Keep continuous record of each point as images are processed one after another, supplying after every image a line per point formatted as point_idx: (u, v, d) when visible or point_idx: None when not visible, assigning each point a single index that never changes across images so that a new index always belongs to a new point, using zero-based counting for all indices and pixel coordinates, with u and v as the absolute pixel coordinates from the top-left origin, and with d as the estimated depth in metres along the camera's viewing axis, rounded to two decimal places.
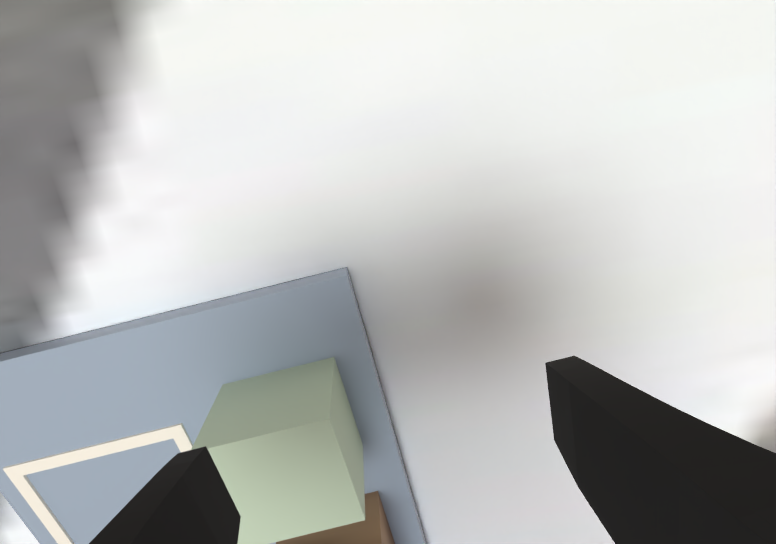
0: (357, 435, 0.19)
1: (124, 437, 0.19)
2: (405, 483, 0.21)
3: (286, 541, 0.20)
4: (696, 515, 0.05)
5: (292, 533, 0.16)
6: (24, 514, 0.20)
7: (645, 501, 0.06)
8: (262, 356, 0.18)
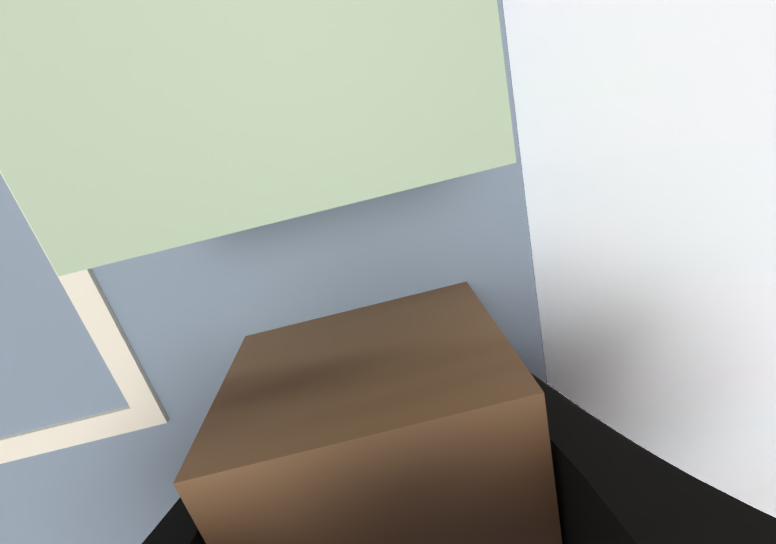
0: None
1: None
2: (530, 264, 0.09)
3: (252, 370, 0.08)
4: (609, 536, 0.05)
5: (248, 208, 0.04)
6: None
7: (575, 518, 0.06)
8: None
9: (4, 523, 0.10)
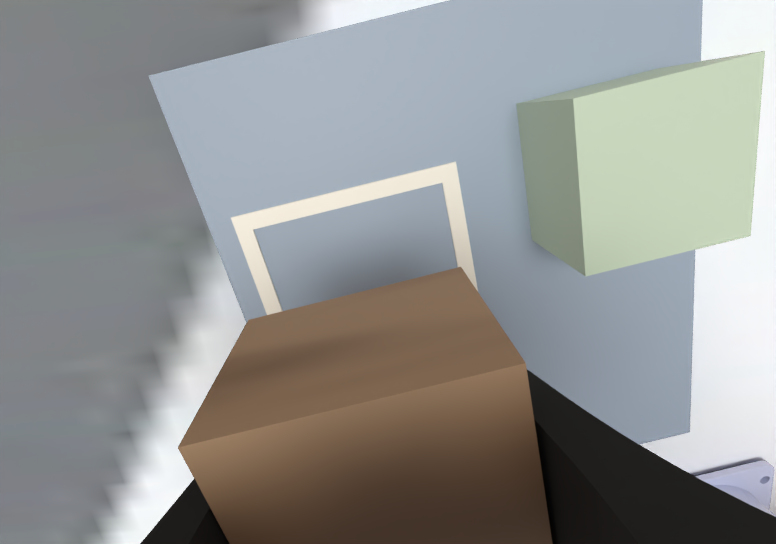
0: None
1: (383, 178, 0.15)
2: (693, 270, 0.17)
3: (254, 349, 0.08)
4: (611, 535, 0.05)
5: (656, 252, 0.12)
6: (242, 291, 0.16)
7: (576, 518, 0.06)
8: (572, 61, 0.14)
9: None
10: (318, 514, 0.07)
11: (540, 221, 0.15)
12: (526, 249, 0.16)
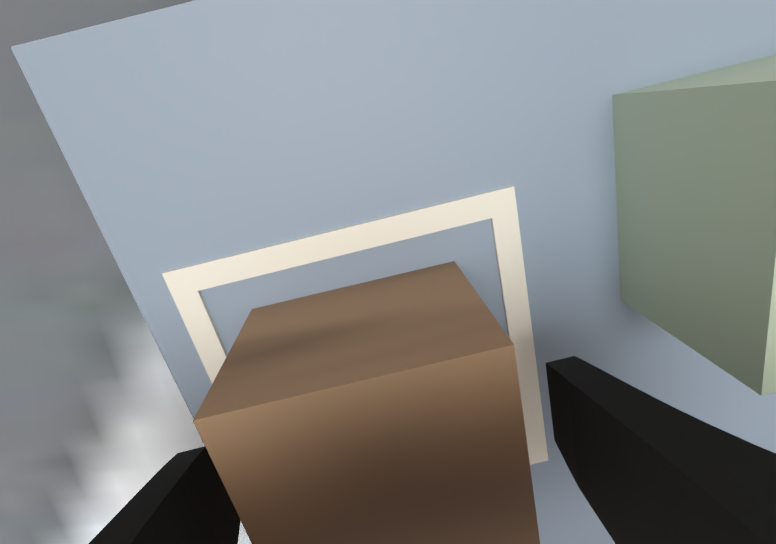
0: None
1: (401, 212, 0.10)
2: None
3: (259, 335, 0.09)
4: (696, 515, 0.05)
5: None
6: (186, 379, 0.11)
7: (645, 500, 0.06)
8: (707, 26, 0.09)
9: None
10: (321, 485, 0.07)
11: (646, 279, 0.10)
12: (612, 312, 0.11)
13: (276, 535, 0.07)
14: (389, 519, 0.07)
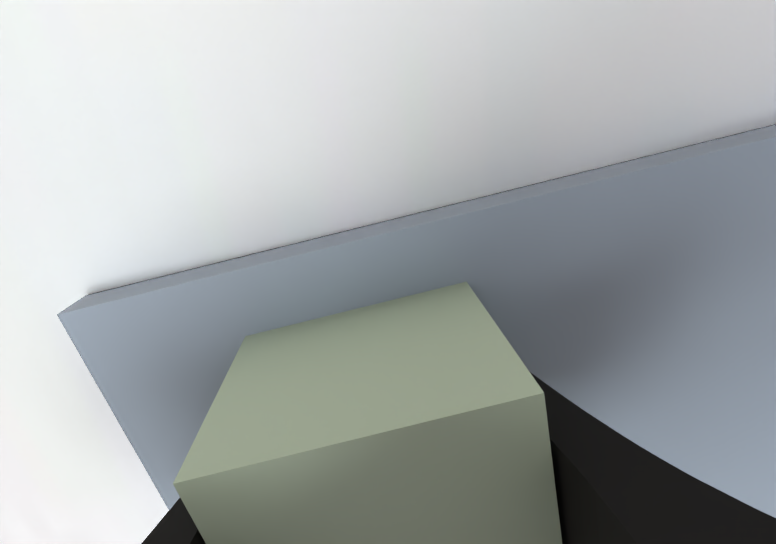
0: (422, 302, 0.09)
1: None
2: (594, 184, 0.09)
3: None
4: (610, 536, 0.05)
5: None
6: None
7: (575, 518, 0.06)
8: None
9: None
10: None
11: None
12: None
13: None
14: None
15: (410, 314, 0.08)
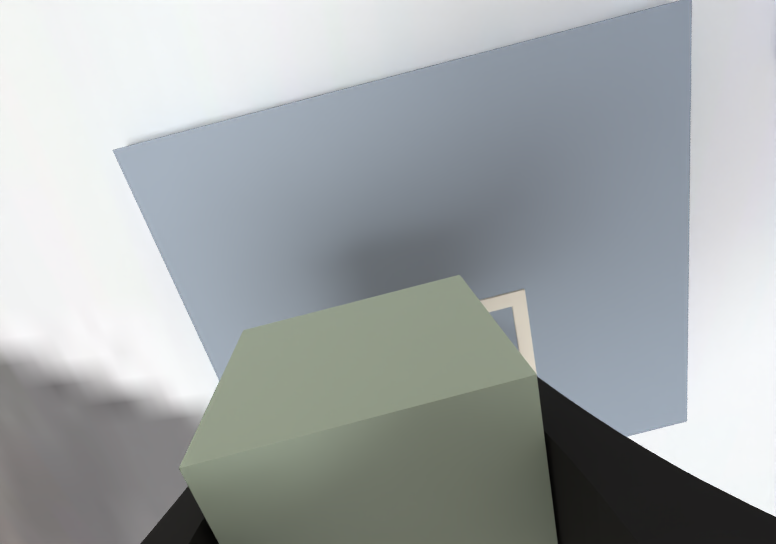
0: (417, 295, 0.09)
1: None
2: (442, 65, 0.14)
3: None
4: (611, 536, 0.05)
5: (541, 523, 0.07)
6: None
7: (575, 518, 0.06)
8: (235, 251, 0.16)
9: (576, 377, 0.19)
10: None
11: None
12: (410, 266, 0.17)
13: None
14: None
15: (406, 306, 0.09)
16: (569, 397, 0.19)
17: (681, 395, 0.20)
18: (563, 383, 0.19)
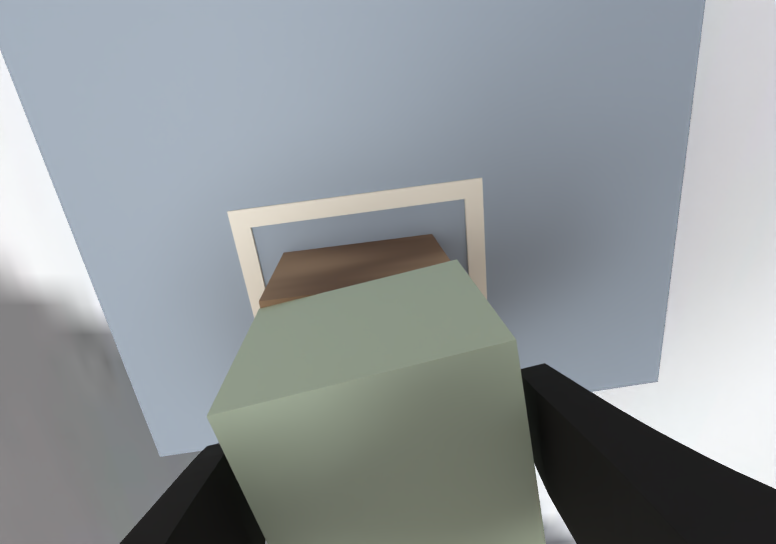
0: (417, 277, 0.10)
1: (246, 286, 0.14)
2: None
3: None
4: (645, 527, 0.05)
5: (523, 476, 0.08)
6: None
7: (604, 511, 0.06)
8: (106, 64, 0.12)
9: (533, 308, 0.16)
10: None
11: None
12: (339, 123, 0.13)
13: None
14: None
15: (406, 286, 0.10)
16: (523, 332, 0.16)
17: (654, 348, 0.17)
18: (518, 313, 0.16)
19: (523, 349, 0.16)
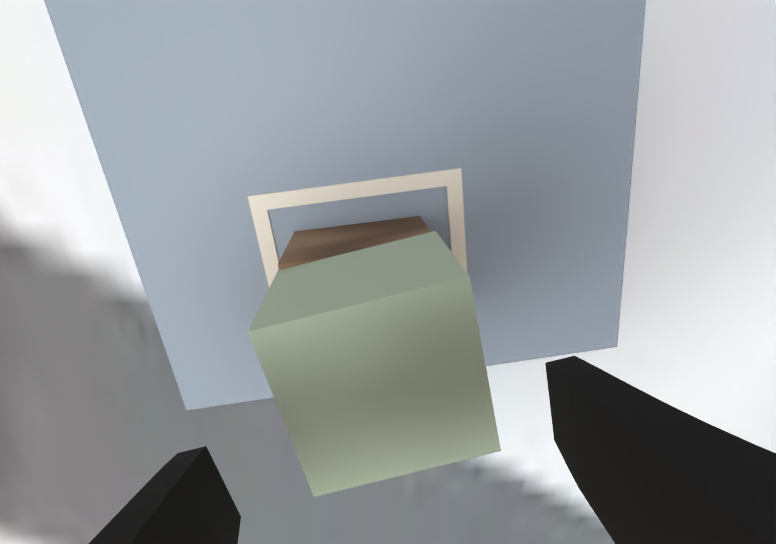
0: (403, 243, 0.12)
1: (262, 260, 0.17)
2: None
3: None
4: (696, 515, 0.05)
5: (479, 384, 0.10)
6: None
7: (645, 501, 0.06)
8: (151, 74, 0.14)
9: (507, 280, 0.18)
10: None
11: None
12: (341, 122, 0.15)
13: None
14: None
15: (394, 250, 0.12)
16: (499, 301, 0.18)
17: (613, 316, 0.19)
18: (494, 285, 0.18)
19: (499, 317, 0.19)
